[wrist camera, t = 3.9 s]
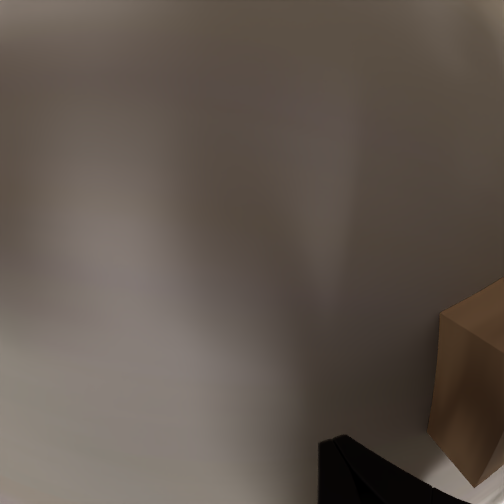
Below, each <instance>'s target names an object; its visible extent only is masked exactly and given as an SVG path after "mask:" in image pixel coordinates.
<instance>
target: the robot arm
mask: <svg viewBox="0 0 504 504" xmlns="http://www.w3.org/2000/svg"><path fill="white" fill-rule="evenodd" d="M317 504H471V503H468V502H465V501H462V500H460V499H457V498H455V497H453V496H450V495H448V494H446V493H444V492H442V491H440V490H438V489H436V488H432V486H431V485H429V484H427V483H425V482H423V481H421V480H420V479H418V478H416V477H414V476H413V475H411V474H409V473H407V472H406V471H404V470H402V469H400V468H399V467H397V466H395V465H394V464H392V463H390V462H389V461H387V460H385V459H384V458H382V457H381V456H379V455H377V454H376V453H374V452H373V451H371V450H369V449H368V448H366V447H365V446H363V445H362V444H360V443H359V442H357V441H355V440H354V439H352V438H351V437H349V436H348V435H346V434H343V435H340V436H337V437H334V438H333V439H328V440H325V441H322V442H319V444H318V498H317Z"/></svg>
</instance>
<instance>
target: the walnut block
mask: <svg viewBox="0 0 504 504" xmlns="http://www.w3.org/2000/svg"><path fill="white" fill-rule="evenodd" d="M427 433H428V434H429V435H430V437H431V438H432V439H433V440H434V441H435V442H436V444H437V445H438V446H439V447H440V448H441V449H442V451H443V452H444V453H445V454H446V455H447V457H448V458H449V459H450V460H451V461H452V462H453V464H454V465H455V466H456V467H457V468H458V470H459V471H460V472H461V473H462V474H463V476H464V477H465V478H466V479H467V480H468V481H469V483H470V484H471V485H472V486H473V487H474V488H475V487H476V486H478V485H479V484H480V483H482V482H483V481H484V480H485V479H487V478H488V477H489V476H490V475H492V474H493V473H494V472H495V471H497V470H498V469H499V468H500V467H501V466H502V465H504V277H503V278H501V279H499V280H498V281H496V282H494V283H493V284H491V285H489V286H488V287H486V288H484V289H483V290H481V291H479V292H477V293H476V294H474V295H472V296H470V297H468V298H467V299H465V300H463V301H461V302H459V303H457V304H456V305H454V306H452V307H450V308H448V309H446V310H444V311H442V312H440V319H439V341H438V355H437V366H436V376H435V384H434V392H433V399H432V405H431V412H430V417H429V423H428V428H427Z"/></svg>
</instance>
